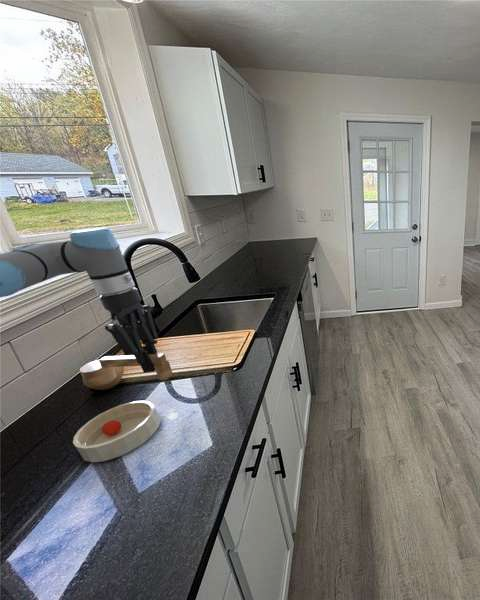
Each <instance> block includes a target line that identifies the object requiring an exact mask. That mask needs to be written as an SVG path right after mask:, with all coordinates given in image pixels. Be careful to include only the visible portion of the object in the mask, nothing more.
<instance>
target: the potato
mask: <svg viewBox="0 0 480 600" xmlns="http://www.w3.org/2000/svg"><path fill="white" fill-rule="evenodd" d="M113 368H114V370H115V373H116V375H117V376H116V378H115V379H114V380H113V381H111V382H109V383H107V384H105V385H102V386H98V387H88V386H87V385H86V383H85V381H84V379H83V378H82V383H83V385H84V386H85V387H87V388H89V389H92V390H97V391H98V390H99V391H106V390H110V389H113V388H114V387H116V386H117V385H119V384H120V382H121V380H122V377H123V375H124V373H125V367H113Z"/></svg>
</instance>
